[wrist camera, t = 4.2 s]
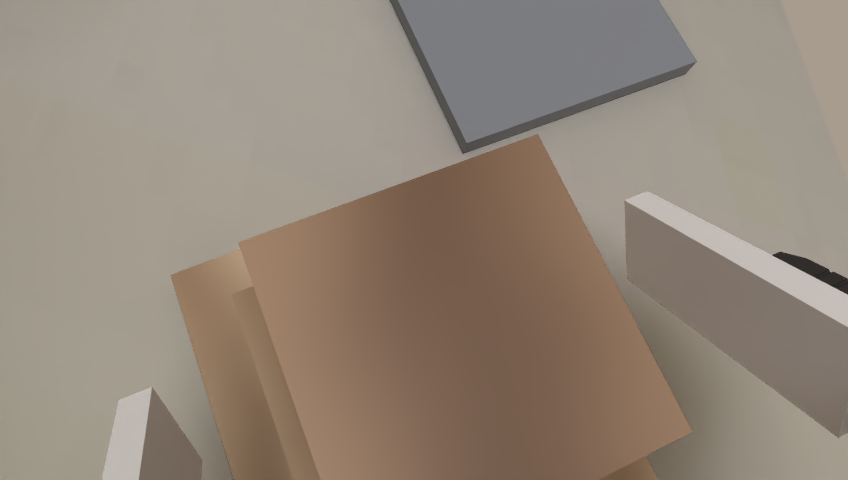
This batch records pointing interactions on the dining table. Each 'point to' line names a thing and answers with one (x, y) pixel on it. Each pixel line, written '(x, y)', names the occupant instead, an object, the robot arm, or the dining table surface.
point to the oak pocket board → (258, 376)
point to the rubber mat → (537, 58)
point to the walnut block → (460, 332)
